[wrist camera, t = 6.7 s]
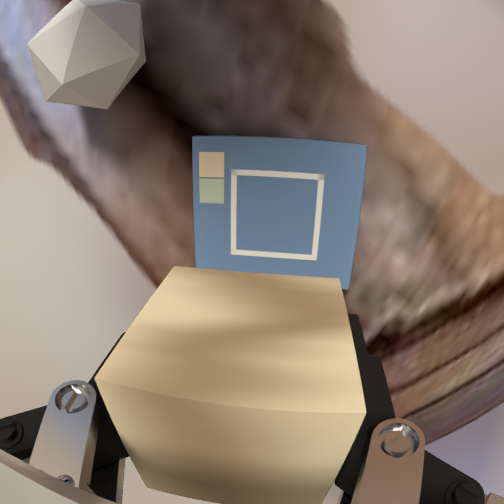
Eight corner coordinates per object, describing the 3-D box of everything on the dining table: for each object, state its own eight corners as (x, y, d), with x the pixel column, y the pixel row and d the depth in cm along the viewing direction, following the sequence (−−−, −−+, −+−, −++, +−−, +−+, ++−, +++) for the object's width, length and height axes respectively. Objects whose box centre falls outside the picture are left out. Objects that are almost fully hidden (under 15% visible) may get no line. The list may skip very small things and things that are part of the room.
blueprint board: (363, 144, 21) (367, 145, 20) (346, 282, 26) (348, 289, 25) (197, 135, 23) (192, 136, 21) (200, 271, 27) (196, 278, 26)
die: (163, -3, 19) (52, -29, 12) (190, 53, 17) (41, 22, 10) (117, 67, 24) (19, 57, 17) (132, 134, 22) (10, 130, 15)
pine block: (339, 278, 9) (366, 412, 5) (316, 393, 11) (317, 510, 7) (174, 265, 10) (94, 378, 5) (188, 380, 12) (147, 487, 7)
